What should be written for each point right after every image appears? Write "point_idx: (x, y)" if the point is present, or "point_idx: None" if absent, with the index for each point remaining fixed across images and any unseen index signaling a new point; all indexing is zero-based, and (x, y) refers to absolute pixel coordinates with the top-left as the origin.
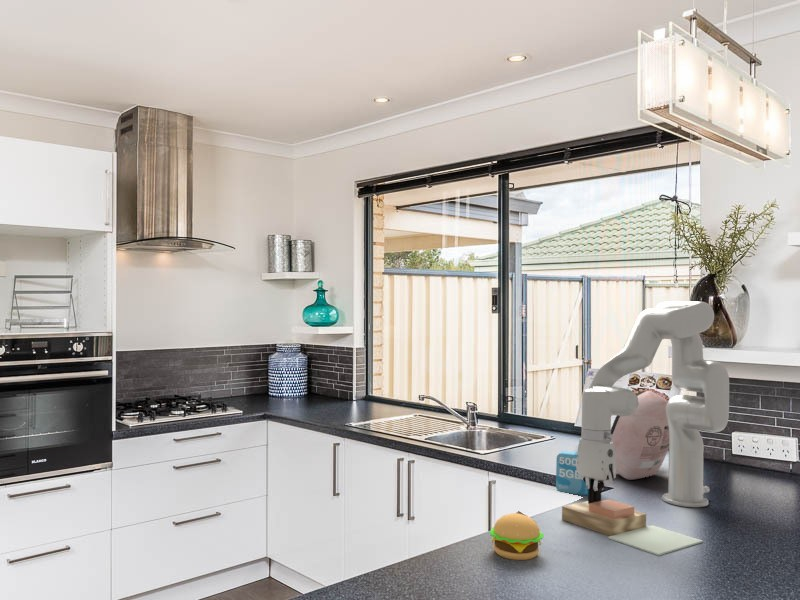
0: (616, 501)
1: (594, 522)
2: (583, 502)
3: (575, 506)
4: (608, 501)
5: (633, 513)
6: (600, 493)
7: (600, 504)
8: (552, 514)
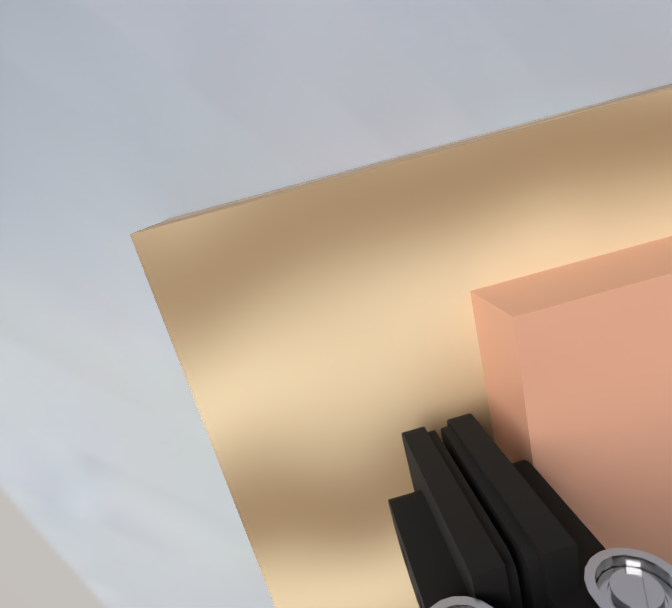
0: (638, 284)
1: None
2: (237, 468)
3: (347, 604)
4: (592, 389)
5: None
6: (587, 540)
7: (640, 543)
8: (164, 603)
